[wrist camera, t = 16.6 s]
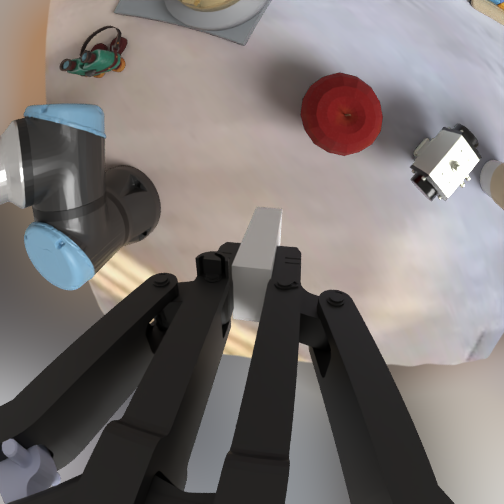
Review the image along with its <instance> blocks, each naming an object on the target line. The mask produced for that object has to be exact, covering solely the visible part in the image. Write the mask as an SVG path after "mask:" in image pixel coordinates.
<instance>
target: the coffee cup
mask: <svg viewBox="0 0 504 504" xmlns="http://www.w3.org/2000/svg"><path fill="white" fill-rule="evenodd" d="M480 184H481V188H482V190H483V191H484V192H485V193H486V194H487V195H488V196H489V197H491V198H492V199H493V200H494V202H495V203H496V204H498V205H499V206H500V207H501V208H502V209H503V210H504V163H502V162H499V161H496V160H490V161H488V162H487V163H486V164H485V165H484V166H483V168H482V170H481V174H480Z"/></svg>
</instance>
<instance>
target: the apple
mask: <svg viewBox="0 0 504 504" xmlns="http://www.w3.org/2000/svg"><path fill="white" fill-rule="evenodd" d="M301 118H302V122H303V125H304V129H305V131H306V133H307V134H308V136H309V137H310V138H311V140H312V141H313V143H314V144H315V145H317V146H319V147H320V148H322V149H324V150H325V151H327V152H329V153H334V154H338V155H343V156H346V155H349V154H353V153H357V152H360V151H362V150H363V149H365V148H366V147H368V146H370V145H371V144H372V143H373V142H374V140H375V139H376V137H377V136H378V134H379V133H380V131H381V125H382V118H383V116H382V111H381V105H380V101H379V100H378V98H377V96H376V95H375V93H374V91H373V90H372V88H371V87H370V86H369V85H367V84H366V83H365V82H363V81H362V80H361V79H359V78H358V77H356V76H352V75H348V74H344V73H340V72H339V73H336V74H332V75H328V76H324V77H322V78H321V79H320V80H318V81H317V82H315V83H314V84H312V85H311V86H310V88H309V89H308V91H307V93H306V94H305V96H304V98H303V101H302V108H301Z"/></svg>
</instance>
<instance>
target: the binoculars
mask: <svg viewBox="0 0 504 504" xmlns="http://www.w3.org/2000/svg"><path fill="white" fill-rule="evenodd" d="M107 28H115V27H113V26H105V27H103V28H100V29H98V30H97V31H95V32H94V33H93V34H91V35H90V36H89V37H88V38H87V40H86V41H85V42H84V44H83V46H82V48H81V52H80V56H81V58H77V59H73V60H70V59H65V60H63V61H62V62H61V64H60V70H61V71H67V72H68V73H72V74H78V75H81V76H85V77H91V76H94V77H96V78H101V77H103V76H104V74H105V72H108V71H110V70H113V71H115V72H121V71H122V70H123V69H124V68H125V61H124V59H123V58H121V57H120V56H121V53H122V52H123V51H124V49H125V48H126V45H127V40H126V39H125V38H123V37H121V32H120V30H119V29H117V28H116V30H117V32H118V34H117V37H116V38H115V39H114V40H113V41H112V42H111V44H110V51H108V48H107V46H106V45H104V44H102V43H99V44H97V45H95V46H94V47H93V48H92V50H91V52H90V51H87V50H85V48H86V46H87V44H88V43H89V41H90V40H91V39H92V38H93V37H94V36H95V35H96V34H98V33H99V32H101V31H103V30H105V29H107ZM84 50H85V51H84Z"/></svg>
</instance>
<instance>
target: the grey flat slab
mask: <svg viewBox="0 0 504 504" xmlns="http://www.w3.org/2000/svg"><path fill="white" fill-rule="evenodd" d="M270 2H271V0H240V1H238V2H237V3H236V4H234V5H232V6H230V7H228V8H226V9H223V10H219V11H215V12H199V11H195V10H192V9H190V8H188V7H187V6H185V5H184V4H183V3H181V2H180V1H178V0H120V1H119V3H118V5H117V7H116V9H115V11H114V13H116V14H121V15H128V16H134V17H140V18H146V19H151V20H156V21H161V22H166V23H170V24H174V25H178V26H182V27H186V28H190V29H194V30H197V31H201V32H204V33H208V34H211V35H214V36H217V37H220V38H223V39H226V40H229V41H232V42H235V43H238V44H240V45H243V46H245V44H246V43H247V41H248V39H249V37H250V36H251V34H252V32H253V30H254V29H255V27H256V25H257V23H258V22H259V20H260V18H261V17H262V15H263V13H264V12H265V10H266V8H267V7H268V5H269V4H270Z"/></svg>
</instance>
